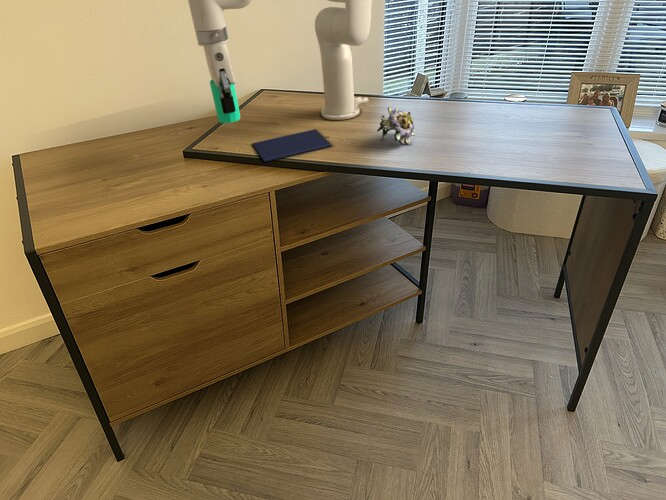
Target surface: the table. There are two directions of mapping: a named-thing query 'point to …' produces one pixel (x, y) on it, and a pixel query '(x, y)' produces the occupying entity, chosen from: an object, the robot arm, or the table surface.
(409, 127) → the passion flower
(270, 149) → the cloth
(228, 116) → the candle
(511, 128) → the table surface
